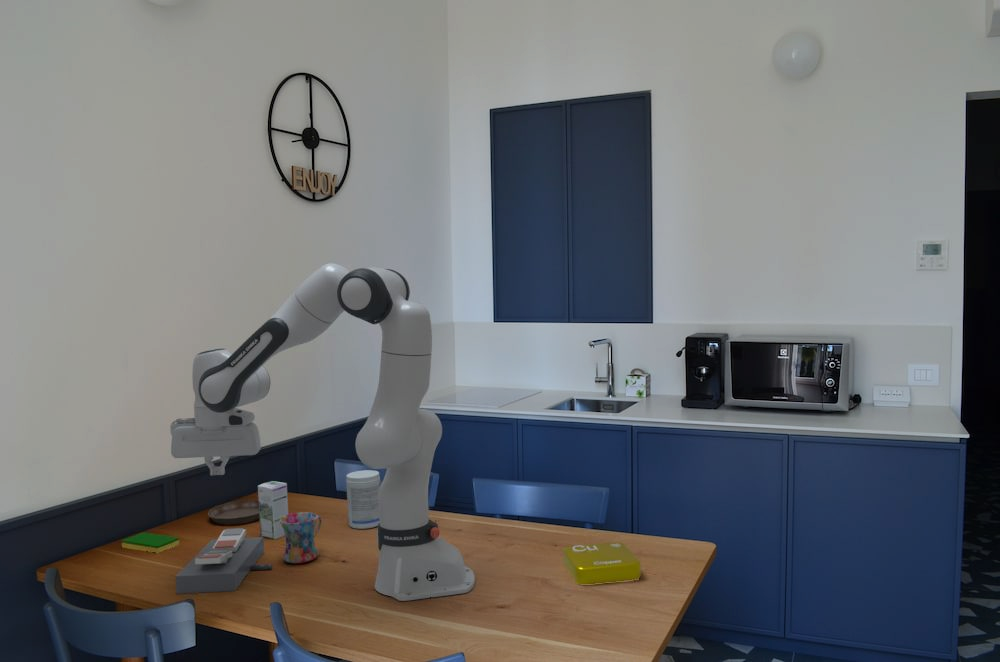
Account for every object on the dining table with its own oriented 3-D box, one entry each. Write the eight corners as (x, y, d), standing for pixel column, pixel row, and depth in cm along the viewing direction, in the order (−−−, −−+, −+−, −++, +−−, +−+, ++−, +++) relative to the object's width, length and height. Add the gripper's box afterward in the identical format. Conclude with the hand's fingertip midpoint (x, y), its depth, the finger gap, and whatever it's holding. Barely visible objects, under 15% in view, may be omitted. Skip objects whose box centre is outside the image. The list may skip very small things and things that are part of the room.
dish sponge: (158, 555, 197) (157, 546, 197) (121, 549, 202) (120, 540, 202) (180, 546, 203) (179, 537, 203) (143, 540, 209) (143, 531, 209)
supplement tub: (389, 524, 215) (387, 473, 214) (361, 532, 209) (358, 479, 208) (369, 517, 222) (367, 468, 221) (341, 525, 216) (339, 474, 215)
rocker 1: (246, 536, 193) (245, 528, 192) (236, 554, 184) (235, 545, 183) (224, 537, 192) (223, 529, 192) (213, 556, 184) (212, 547, 183)
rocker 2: (232, 559, 180) (232, 549, 181) (220, 567, 171) (220, 556, 172) (208, 561, 180) (208, 550, 180) (195, 568, 171) (195, 557, 171)
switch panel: (284, 551, 195) (283, 536, 195) (258, 589, 170) (257, 572, 170) (212, 554, 194) (212, 539, 194) (176, 593, 169) (175, 576, 169)
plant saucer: (222, 531, 214) (222, 521, 214) (199, 518, 227) (198, 508, 227) (281, 517, 226) (280, 507, 226) (255, 506, 239) (254, 496, 239)
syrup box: (290, 533, 209) (288, 482, 208) (273, 540, 204) (271, 487, 204) (276, 530, 212) (273, 479, 212) (259, 537, 207) (256, 484, 207)
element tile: (578, 588, 166) (577, 567, 166) (562, 564, 181) (561, 544, 181) (643, 582, 168) (643, 561, 168) (622, 558, 183) (622, 539, 183)
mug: (300, 568, 182) (297, 525, 182) (273, 562, 187) (271, 520, 187) (335, 553, 193) (333, 512, 192) (309, 547, 198) (307, 507, 197)
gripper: (164, 421, 176) (168, 479, 177) (253, 417, 177) (256, 476, 178) (175, 416, 182) (178, 473, 183) (261, 413, 183) (263, 469, 184)
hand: (217, 474), depth 180 cm, fingers closed
